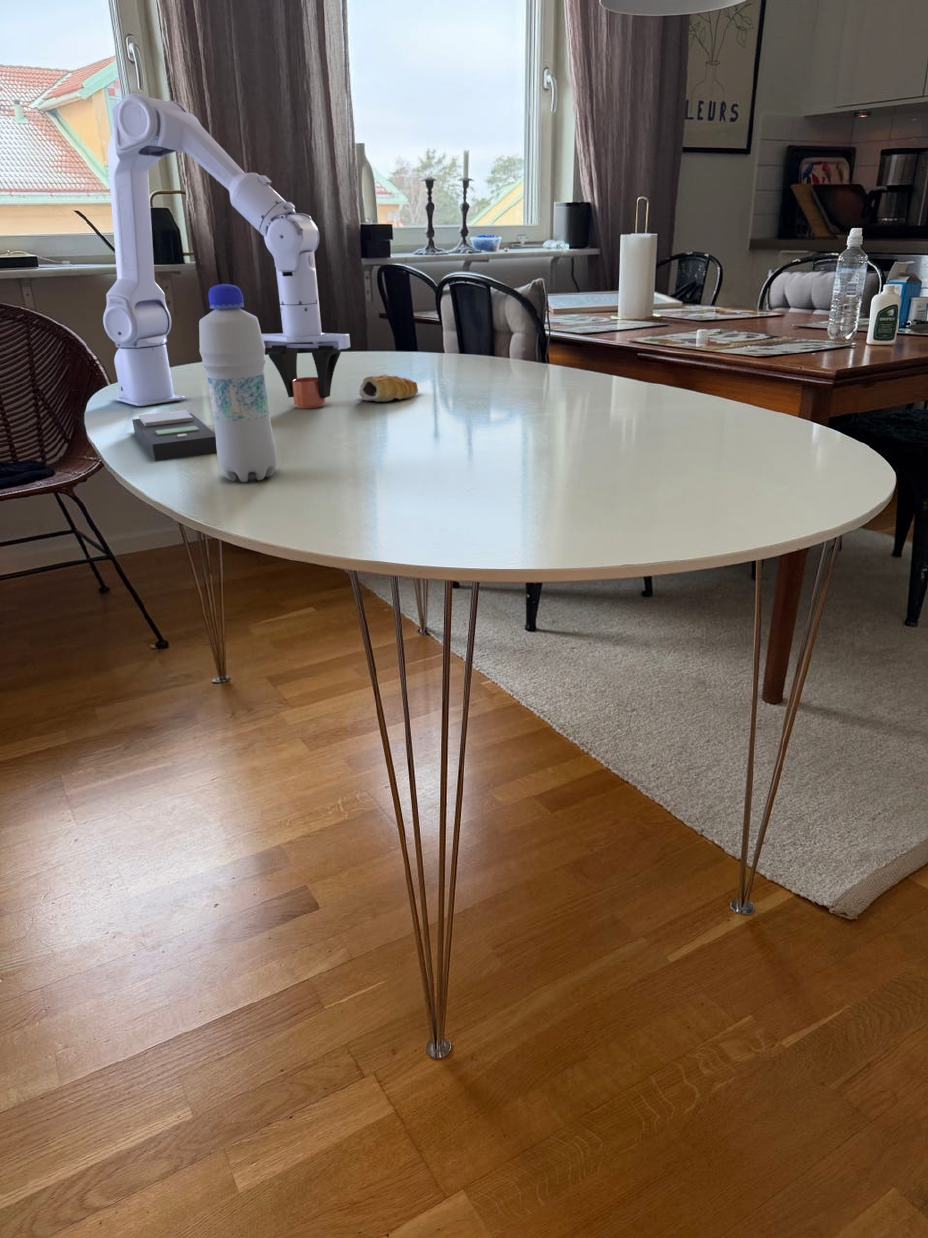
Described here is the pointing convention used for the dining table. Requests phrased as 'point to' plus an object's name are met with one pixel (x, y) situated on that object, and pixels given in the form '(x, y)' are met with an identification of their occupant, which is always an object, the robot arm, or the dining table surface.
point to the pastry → (387, 388)
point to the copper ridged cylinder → (307, 393)
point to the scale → (174, 435)
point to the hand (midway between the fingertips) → (309, 396)
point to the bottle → (237, 386)
